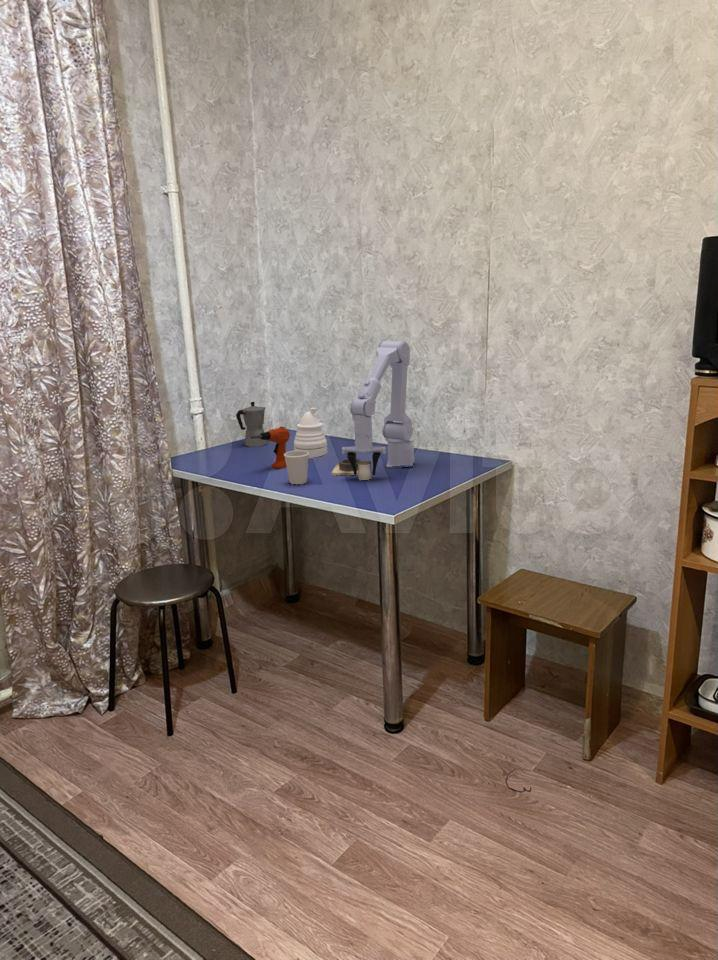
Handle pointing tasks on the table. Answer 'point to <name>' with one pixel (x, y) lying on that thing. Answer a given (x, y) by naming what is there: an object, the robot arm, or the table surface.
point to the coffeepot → (252, 424)
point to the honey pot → (310, 435)
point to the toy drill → (280, 438)
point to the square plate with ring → (344, 468)
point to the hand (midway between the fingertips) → (364, 474)
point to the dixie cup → (297, 466)
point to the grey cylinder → (364, 470)
